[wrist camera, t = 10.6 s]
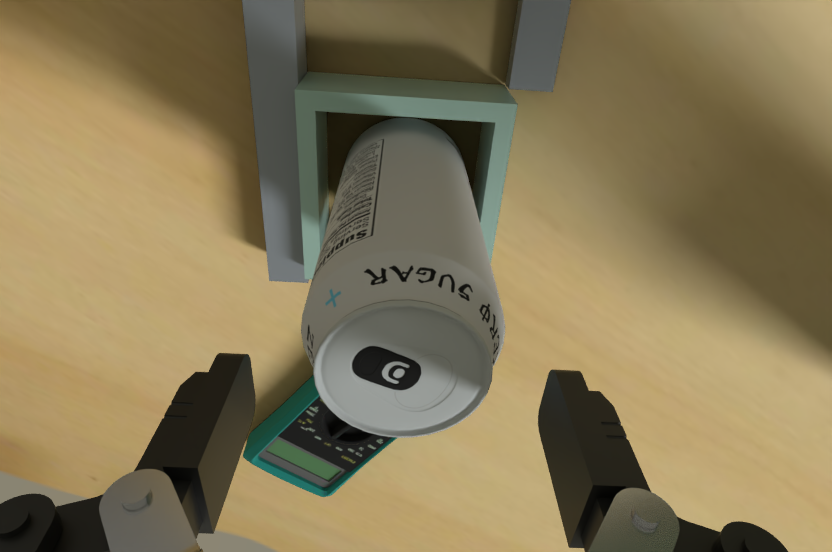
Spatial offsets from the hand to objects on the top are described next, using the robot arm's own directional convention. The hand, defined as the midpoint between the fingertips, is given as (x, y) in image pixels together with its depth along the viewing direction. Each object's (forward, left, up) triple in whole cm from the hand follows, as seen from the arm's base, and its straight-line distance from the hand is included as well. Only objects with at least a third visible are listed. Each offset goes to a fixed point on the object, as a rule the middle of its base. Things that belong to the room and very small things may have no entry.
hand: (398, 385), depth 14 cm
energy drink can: (0, 0, -15) cm, 15 cm away
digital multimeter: (+3, +17, -16) cm, 23 cm away
